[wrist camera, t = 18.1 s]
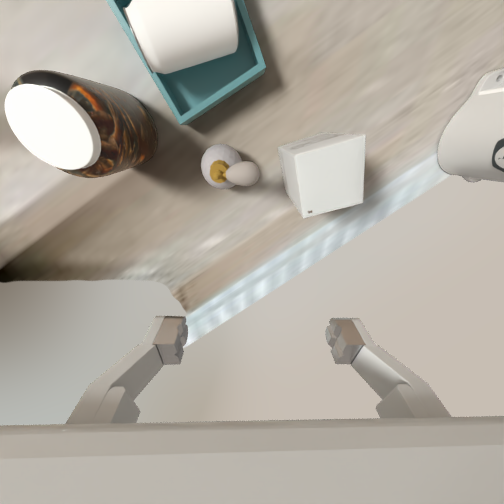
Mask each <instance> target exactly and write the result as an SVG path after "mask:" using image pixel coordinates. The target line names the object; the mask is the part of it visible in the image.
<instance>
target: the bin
mask: <svg viewBox="0 0 504 504" xmlns="http://www.w3.org/2000/svg"><path fill="white" fill-rule="evenodd" d="M106 1H107V3H108V4H109V6H110V8H111V9H112V11H113V13H114V14H115V16H116V18H117V19H118V21H119V23H120V24H121V26H122V28H123V29H124V31H125V33H126V35H127V36H128V38H129V40H130V41H131V43H132V45H133V46H134V48H135V50H136V51H137V53H138V55H139V56H140V58H141V60H142V61H143V63H144V65H145V67H146V68H147V70H148V72H149V73H150V75H151V77H152V78H153V80H154V82H155V83H156V85H157V87H158V88H159V90H160V92H161V93H162V95H163V97H164V99H165V100H166V102H167V104H168V105H169V107H170V109H171V110H172V112H173V114H174V115H175V117H176V119H177V120H178V122H179V124H180V125H187V124H189V123H190V122H192V121H193V120H195V119H196V118H198V117H199V116H201V115H202V114H204V113H206V112H207V111H209V110H210V109H212V108H213V107H215V106H216V105H218V104H219V103H221V102H222V101H224V100H225V99H227V98H228V97H230V96H231V95H233V94H234V93H236V92H237V91H239V90H240V89H242V88H243V87H245V86H246V85H248V84H249V83H251V82H252V81H254V80H255V79H257V78H258V77H260V76H261V75H263V74H264V72H265V69H266V65H265V62H264V59H263V56H262V53H261V50H260V47H259V44H258V41H257V38H256V36H255V33H254V30H253V27H252V24H251V21H250V18H249V15H248V12H247V9H246V6H245V3H244V0H234V2H235V7H236V13H237V20H238V29H239V45H238V48H237V49H236V52H235V53H232V54H229V55H226V56H223V57H220V58H217V59H213V60H210V61H207V62H204V63H201V64H198V65H194V66H191V67H188V68H185V69H182V70H178V71H175V72H172V73H168V74H162V73H158V72H153V74H152V73H151V71H150V69H149V67H148V66H147V64H146V62H145V59H144V57H143V55H142V53H141V51H140V49H139V47H138V44H137V42H136V40H135V38H134V35H133V33H132V31H131V28H130V26H129V23H128V21H127V18H126V16H125V13H124V10H123V7H125V8H127V7H128V6H129V5H130V3H131V1H132V0H106Z"/></svg>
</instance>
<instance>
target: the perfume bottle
mask: <svg viewBox="0 0 504 504" xmlns="http://www.w3.org/2000/svg"><path fill="white" fill-rule="evenodd" d="M201 169H202V174H203V176H204V178H205V180H206V181H207V182H208V183H209V184H210V185H212V186H213V187H215V188H218V189H229V188H231V187H233V186H235V185H240V186H251V185H253V184H255V183H256V182H257V181H258V179H259V175H260V172H259V168H258V166H257V165H256V164H255V163H253V162H250V161H243V162H242V159H241V157H240V156H239V154H238V152H237V151H236V150H235V149H234V148H232V147H230V146H228V145H225V144H216V145H213V146H211V147H210V148H208V149H207V150H206V152H205V153H204V155H203V157H202V161H201Z"/></svg>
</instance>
